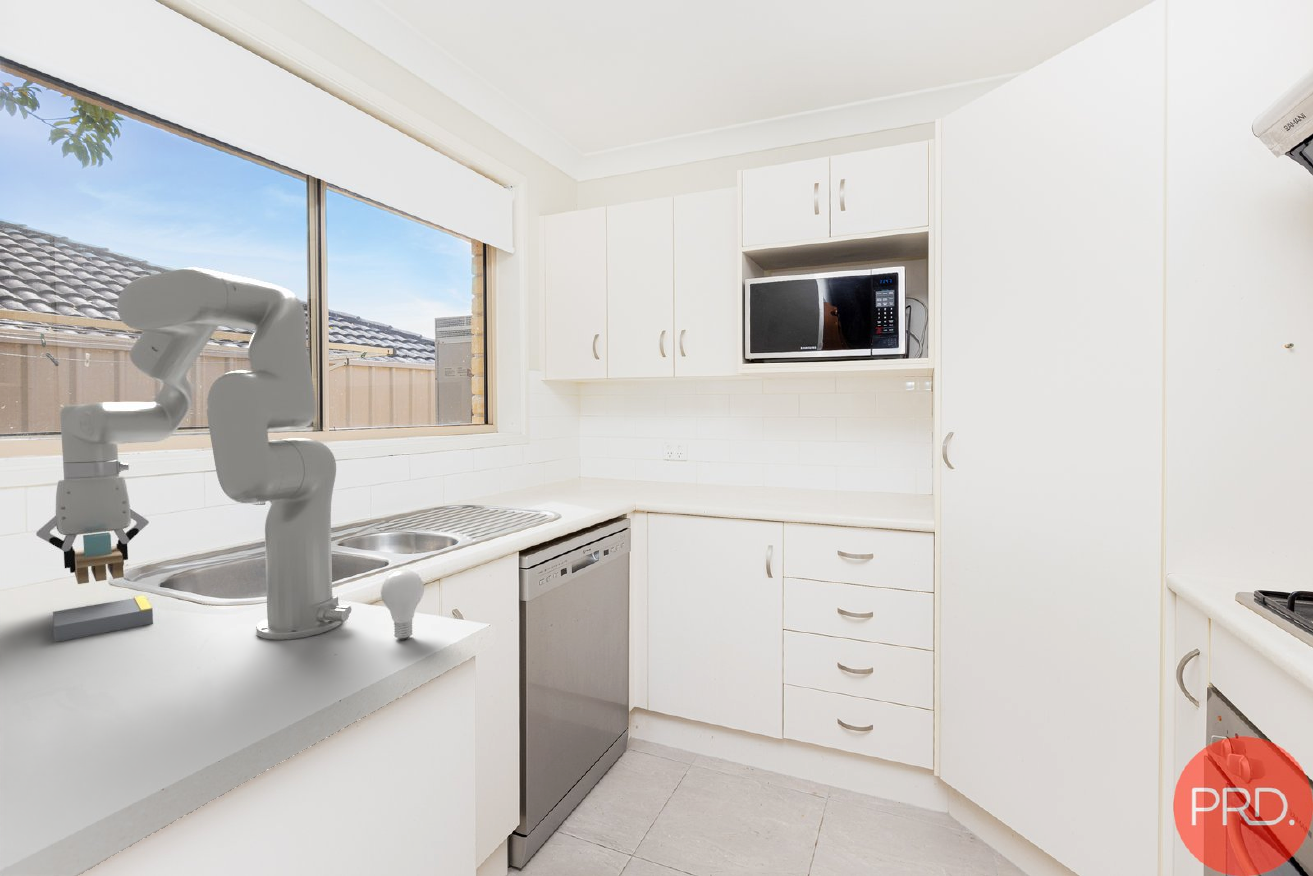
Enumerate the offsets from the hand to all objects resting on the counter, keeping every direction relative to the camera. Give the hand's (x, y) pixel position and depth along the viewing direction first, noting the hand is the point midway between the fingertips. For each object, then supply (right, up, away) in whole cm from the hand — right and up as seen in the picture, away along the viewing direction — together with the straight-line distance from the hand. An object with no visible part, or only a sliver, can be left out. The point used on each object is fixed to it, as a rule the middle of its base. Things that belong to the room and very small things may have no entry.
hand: (97, 567), depth 115 cm
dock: (+10, -8, -10) cm, 16 cm away
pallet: (+2, -1, -2) cm, 3 cm away
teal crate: (+3, +3, -3) cm, 5 cm away
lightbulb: (+64, -8, -16) cm, 66 cm away
